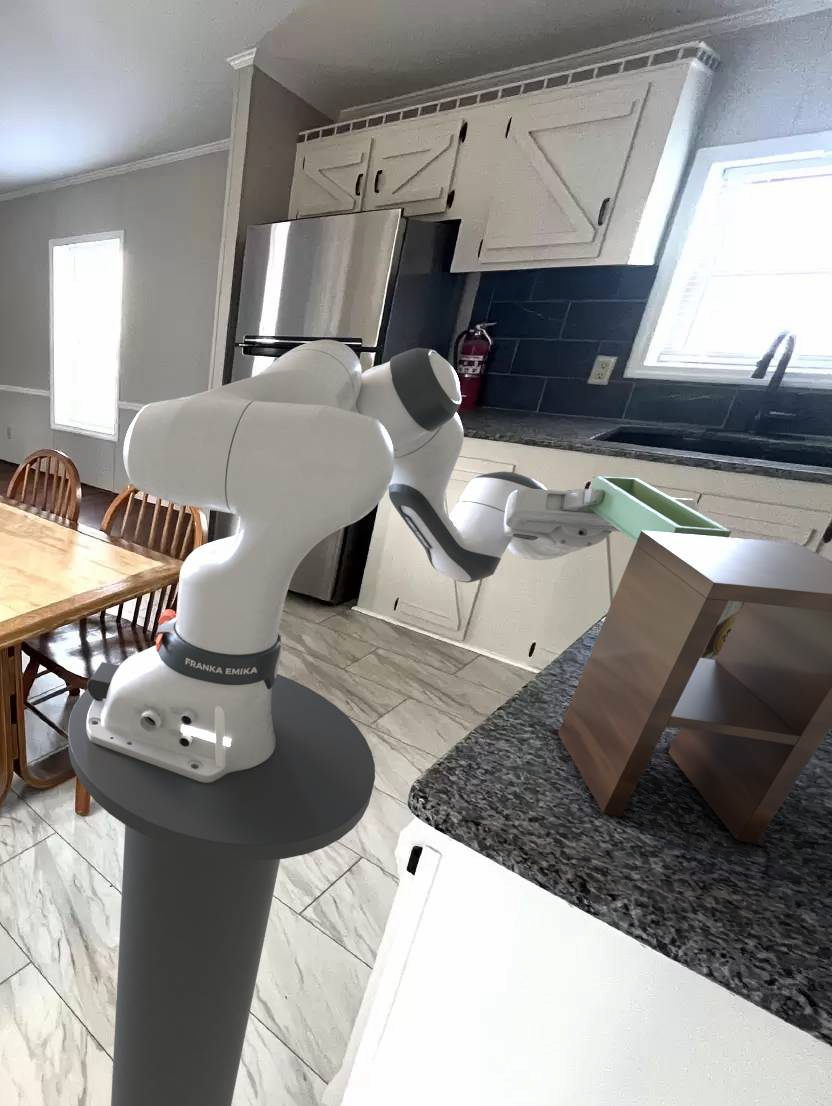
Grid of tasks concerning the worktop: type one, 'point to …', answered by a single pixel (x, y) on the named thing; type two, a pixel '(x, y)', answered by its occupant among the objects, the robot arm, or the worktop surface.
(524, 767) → the worktop surface
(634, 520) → the storage tray
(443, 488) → the robot arm
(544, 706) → the worktop surface
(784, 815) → the worktop surface
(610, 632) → the shelf stand
